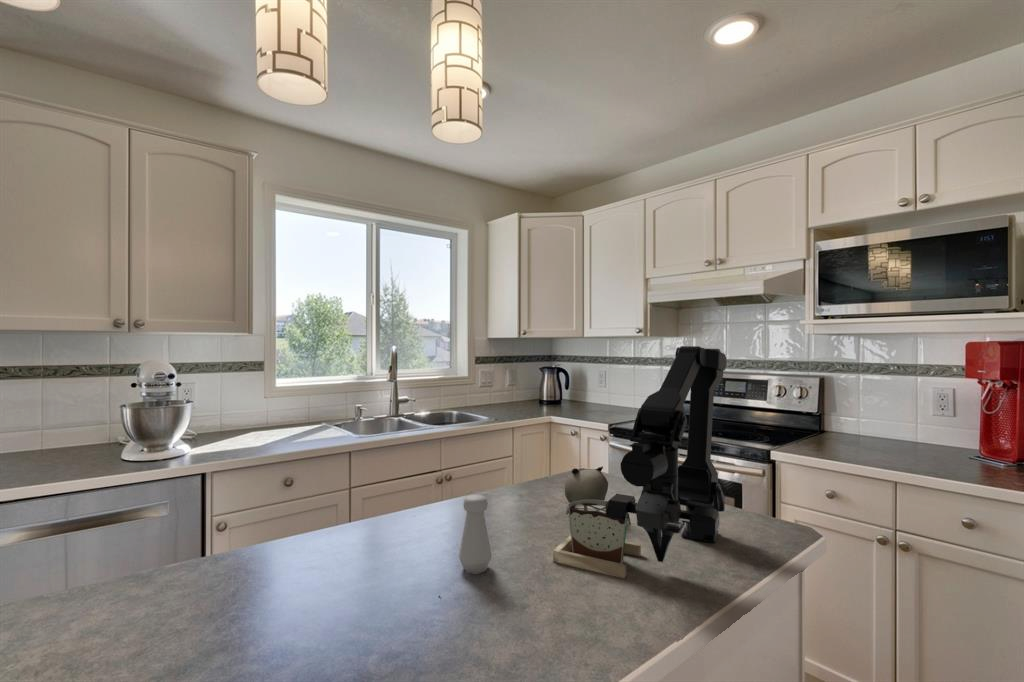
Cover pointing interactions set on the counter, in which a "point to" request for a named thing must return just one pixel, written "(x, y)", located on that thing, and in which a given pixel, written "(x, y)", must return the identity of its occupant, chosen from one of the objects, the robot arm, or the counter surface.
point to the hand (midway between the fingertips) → (660, 561)
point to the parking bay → (593, 559)
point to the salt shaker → (475, 536)
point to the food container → (597, 530)
